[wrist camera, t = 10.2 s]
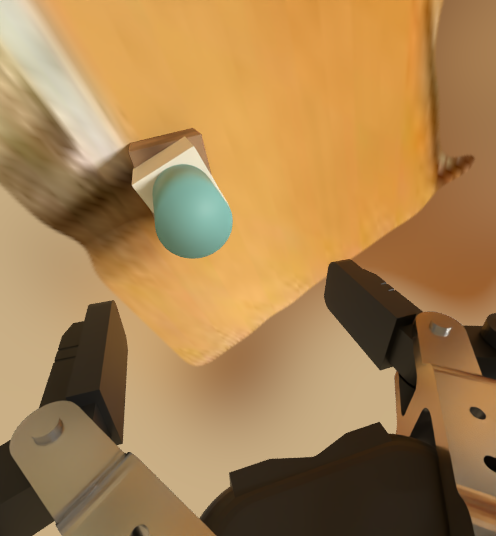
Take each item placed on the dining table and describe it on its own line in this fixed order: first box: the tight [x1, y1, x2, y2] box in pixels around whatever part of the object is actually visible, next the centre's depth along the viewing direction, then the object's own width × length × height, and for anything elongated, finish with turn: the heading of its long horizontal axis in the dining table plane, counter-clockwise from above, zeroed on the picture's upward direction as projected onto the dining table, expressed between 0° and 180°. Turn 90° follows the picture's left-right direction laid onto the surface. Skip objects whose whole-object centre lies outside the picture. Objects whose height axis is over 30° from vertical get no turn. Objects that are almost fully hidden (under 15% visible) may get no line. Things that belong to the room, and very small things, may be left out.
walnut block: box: [128, 128, 211, 220], centre depth 28 cm, size 6×6×5 cm
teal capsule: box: [152, 164, 232, 258], centre depth 19 cm, size 4×4×6 cm
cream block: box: [132, 136, 229, 213], centre depth 24 cm, size 5×5×5 cm
